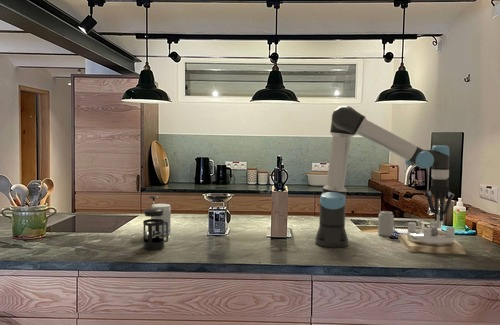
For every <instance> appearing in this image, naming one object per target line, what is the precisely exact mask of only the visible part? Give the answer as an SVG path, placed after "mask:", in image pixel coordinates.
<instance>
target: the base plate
mask: <svg viewBox="0 0 500 325" xmlns="http://www.w3.org/2000/svg"><path fill="white" fill-rule="evenodd" d="M397 238H398V240H399V241H400V243H401V244H402V246H403V247H404V248H405V249H406V251H408V252H410V253H411V252H413V253H414V252H415V253H430V254H431V253H432V254H436V253H437V254H450V255H452V254H453V255H467V248H466V247H465V246H463V245H462V244H461V243H459V242H458V241H457V240H456V239H454V244H453V245H449V246H430V245H423V244H418V243H415V242H412V241H410V240H408V239H407V233H398V236H397Z"/></svg>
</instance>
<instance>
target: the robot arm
mask: <svg viewBox="0 0 500 325" xmlns="http://www.w3.org/2000/svg"><path fill="white" fill-rule="evenodd" d="M329 131H330V132H329V133H330V134H331V136H332V140H331V147H330V154H329V163H328V168H327V169H328V171H327V176H326V178H327V179H326V184H325V185H323V187H322V191H321V194H320V197H319V226H318V229H317V232H316V235H315V237H314V240H315V242H314V243H315V245H318V246H321V247H325V248H326V247H327V248H333V249H334V248H336V249H337V248H344V247H347V246H348V245H349V237H348V234H347V232H346V228H345V226H346V225H345V224H346V222H345V221H346V202H347V200H346V198H347V191H348V190H347V189H346V187H345V183H346V182H345V181H346V177H347V176H346V174H347V168H348V167H347V166H348V160H349V152H350V144H351V139H352V138H353V137H355V136H356V135H358V136H360V137H363V138H364V139H366V140H367V141H370V142H371V143H373V144H375V145H377V146H379V147H381V148H383V149H385V150H387V151H389V152H391V153H392V154H395V155H397V156H398V157H400V158H401V159H404V163H405V165H406V166H411V167H414V166H415V167H419V168H420V169H428V168H431V180H430V182H431V184H430V188H429V190H428V191H427V192H425V193H424V194H425V196H426V199H427V202H428V206H429V211H430V213H433V215H434V222H437V228H438V229H441V228H442V222H443V221H444V215H446V214H448V213H449V210H450V207H451V203H452V200H453V198H454V197H455V193H452V192H450V188H449V182H450V181H449V177H450V157H451V156H450V147H449V146H448V145H432V147H431V149H423V148H421V147H419V146H417V145H416V144H413V143H412V142H410V141H408V140H406V139H404V138H403V137H400V136H398V135H397V134H394V133H393V132H391V131H389V130H387V129H385V128H383V127H381V126H379V125H378V124H376V123H373V121H370V120H368V119H367V116H365V115H363V114H362V113H360V112H359V111H357V110H356V109H354V108H353V107H351V106H350V105H346V104H345V105H340V106H338V107H336V108H335V109H334V111H333V112H332V115H331V125H330V130H329ZM432 196H433V197H432ZM447 196H448V197H447ZM446 198H447V201H446V203H445V199H446ZM433 199H434V202H433Z"/></svg>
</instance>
